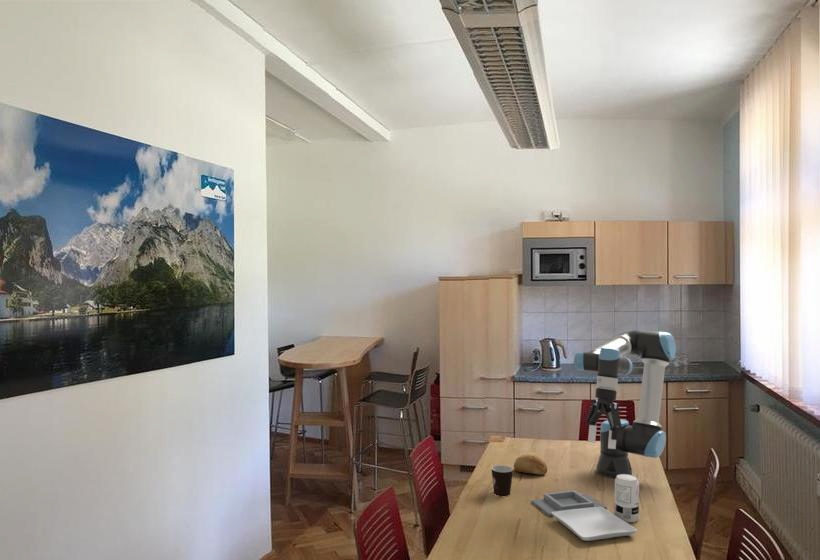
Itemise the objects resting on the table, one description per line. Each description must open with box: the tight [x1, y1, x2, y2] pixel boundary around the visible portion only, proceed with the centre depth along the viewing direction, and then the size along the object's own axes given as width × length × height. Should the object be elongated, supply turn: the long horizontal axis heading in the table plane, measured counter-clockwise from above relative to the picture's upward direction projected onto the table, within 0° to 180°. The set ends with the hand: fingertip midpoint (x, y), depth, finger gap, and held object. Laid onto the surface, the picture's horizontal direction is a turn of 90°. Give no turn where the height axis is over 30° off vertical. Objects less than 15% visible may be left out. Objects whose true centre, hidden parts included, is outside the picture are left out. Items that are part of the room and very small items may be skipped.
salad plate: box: [551, 507, 638, 542], centre depth 207 cm, size 21×21×3 cm
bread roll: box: [513, 454, 548, 476], centre depth 264 cm, size 10×15×8 cm, turn 65°
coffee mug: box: [490, 464, 514, 497], centre depth 241 cm, size 12×9×10 cm
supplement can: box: [614, 474, 640, 524], centre depth 215 cm, size 8×8×15 cm
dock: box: [530, 489, 608, 518], centre depth 227 cm, size 24×14×3 cm, turn 107°
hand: (601, 445), depth 225 cm, fingers open, 13 cm apart
